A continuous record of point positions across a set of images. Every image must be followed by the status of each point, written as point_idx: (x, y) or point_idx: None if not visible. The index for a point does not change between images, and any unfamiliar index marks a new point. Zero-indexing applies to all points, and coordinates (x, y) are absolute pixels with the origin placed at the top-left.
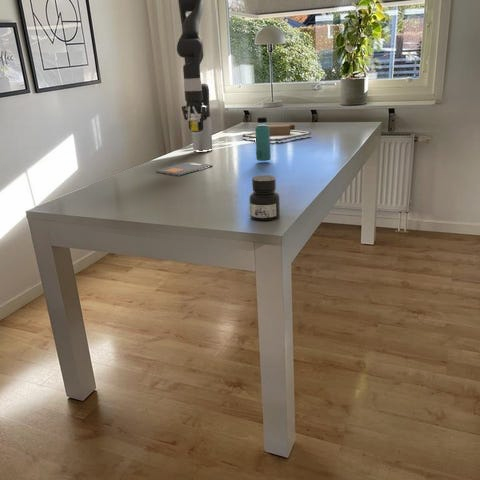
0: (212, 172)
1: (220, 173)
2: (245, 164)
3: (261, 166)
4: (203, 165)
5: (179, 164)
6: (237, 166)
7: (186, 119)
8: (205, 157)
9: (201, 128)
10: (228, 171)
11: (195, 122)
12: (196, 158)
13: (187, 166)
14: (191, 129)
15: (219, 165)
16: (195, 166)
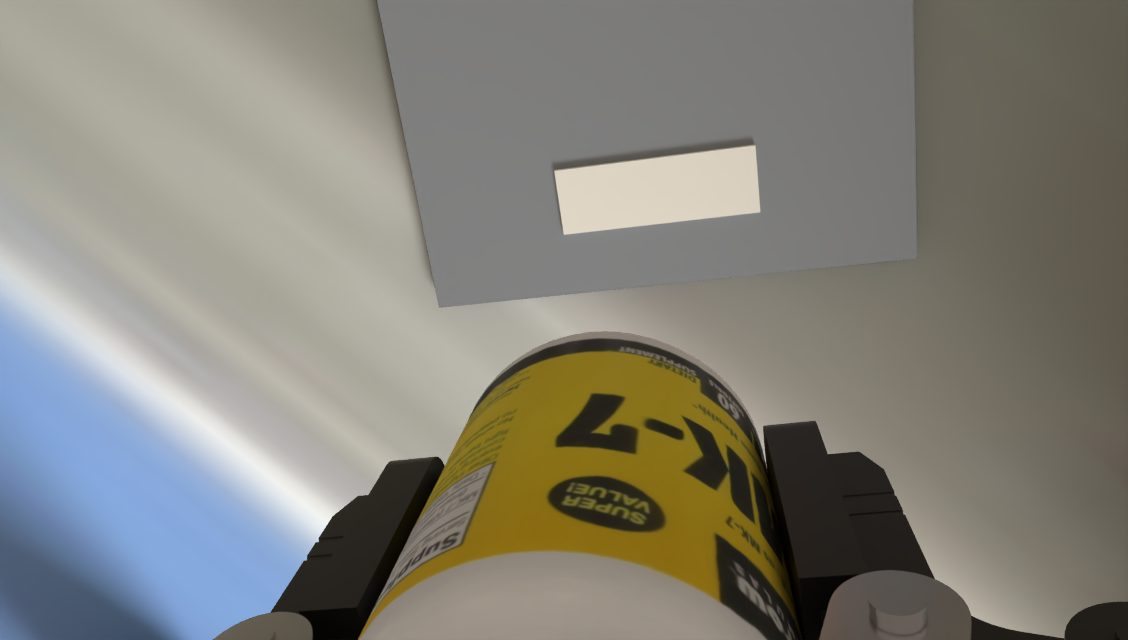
0: (172, 83)
1: (56, 109)
2: (246, 576)
3: (48, 588)
4: (510, 217)
5: (892, 41)
6: (228, 468)
7: (1074, 637)
8: (992, 618)
9: (341, 522)
10: (83, 239)
11: (414, 546)
12: (1069, 522)
13: (656, 30)
14: (641, 374)
15: (437, 396)
16: (550, 104)
